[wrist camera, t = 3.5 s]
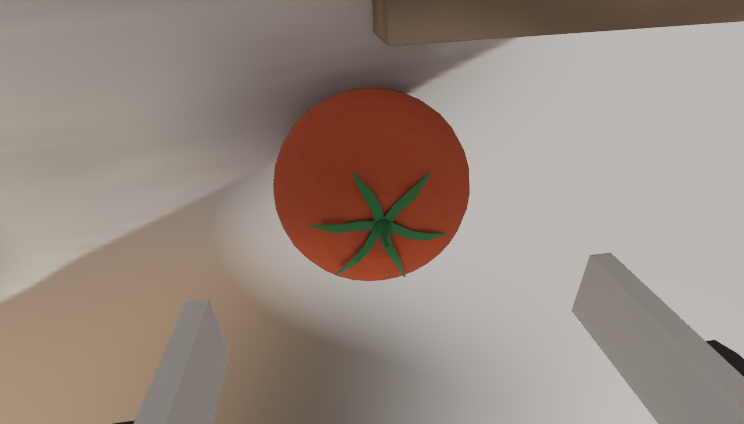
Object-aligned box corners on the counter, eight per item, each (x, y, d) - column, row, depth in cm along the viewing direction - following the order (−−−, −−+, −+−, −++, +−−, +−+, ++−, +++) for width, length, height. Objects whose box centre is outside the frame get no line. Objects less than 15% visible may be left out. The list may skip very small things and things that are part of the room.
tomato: (472, 139, 24) (554, 225, 16) (371, 242, 28) (395, 357, 19) (350, 28, 20) (375, 65, 12) (248, 166, 23) (211, 272, 15)
